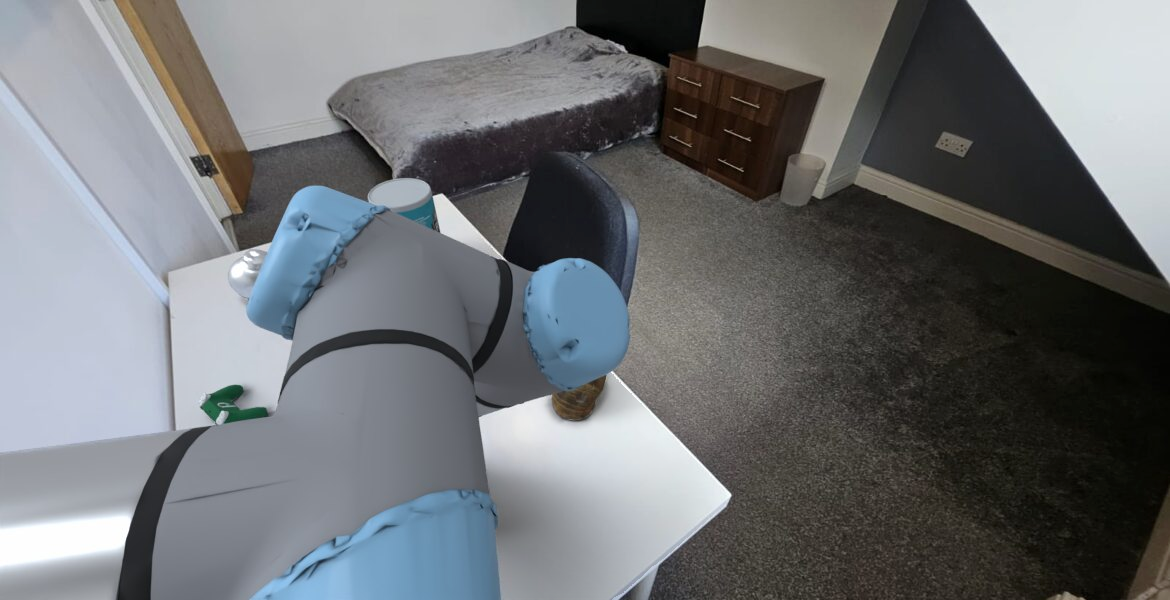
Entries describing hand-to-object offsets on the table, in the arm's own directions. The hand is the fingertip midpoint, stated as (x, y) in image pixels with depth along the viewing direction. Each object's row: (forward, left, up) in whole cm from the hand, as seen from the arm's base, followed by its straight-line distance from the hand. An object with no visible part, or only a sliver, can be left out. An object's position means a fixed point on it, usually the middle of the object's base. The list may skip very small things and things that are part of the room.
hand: (368, 417), depth 53 cm
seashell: (+18, +23, -18) cm, 34 cm away
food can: (-26, +46, -18) cm, 56 cm away
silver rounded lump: (-50, +28, -18) cm, 61 cm away
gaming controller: (-32, +3, -18) cm, 37 cm away
